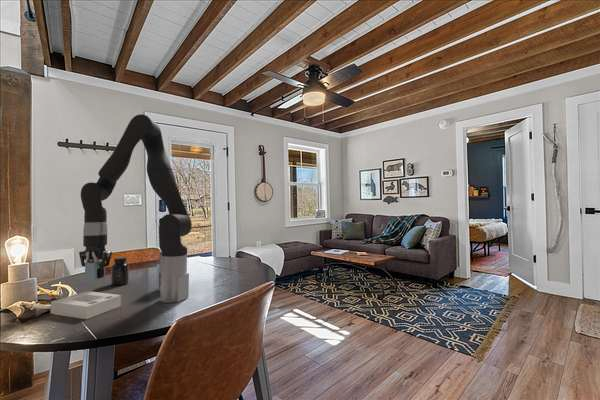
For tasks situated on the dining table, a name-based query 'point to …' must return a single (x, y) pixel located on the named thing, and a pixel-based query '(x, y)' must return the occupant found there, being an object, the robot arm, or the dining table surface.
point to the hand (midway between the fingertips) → (95, 277)
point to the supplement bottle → (120, 272)
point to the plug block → (92, 272)
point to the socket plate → (85, 304)
